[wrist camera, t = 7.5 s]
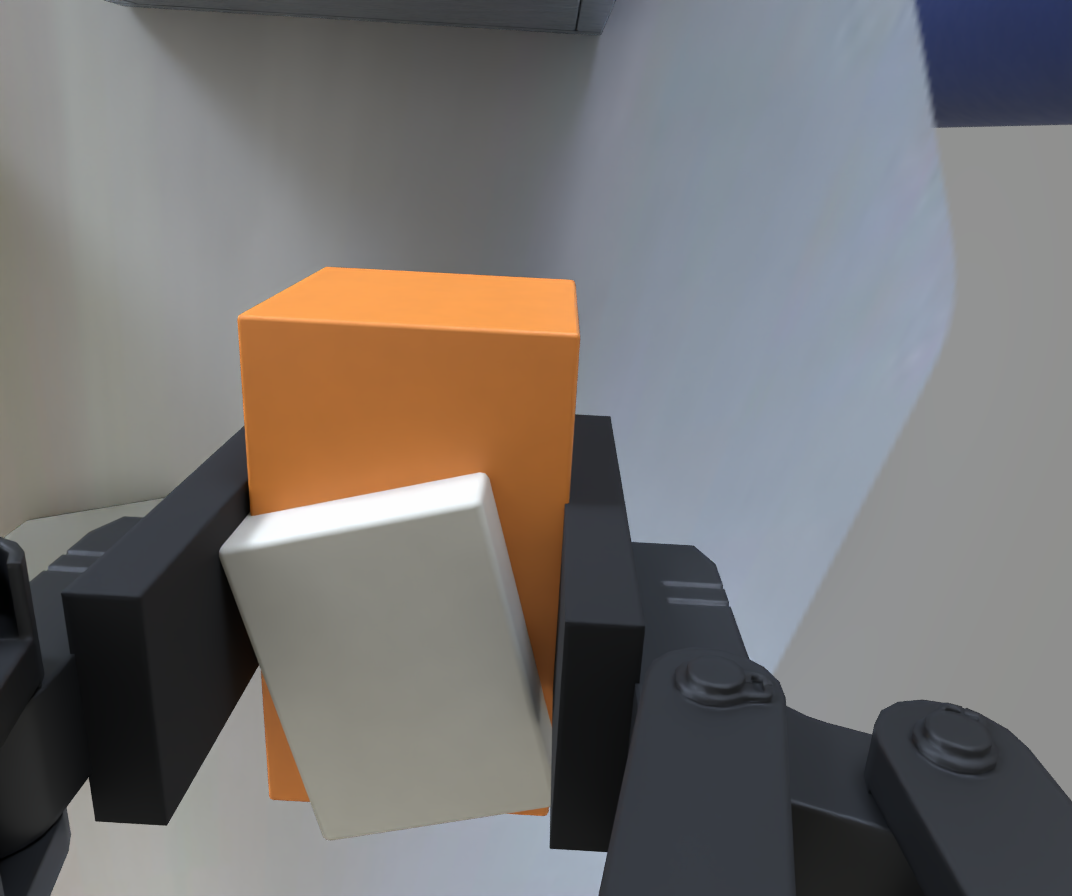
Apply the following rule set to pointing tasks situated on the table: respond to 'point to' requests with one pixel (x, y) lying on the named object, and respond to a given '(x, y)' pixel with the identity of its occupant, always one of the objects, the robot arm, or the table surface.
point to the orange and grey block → (406, 540)
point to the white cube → (67, 532)
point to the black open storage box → (421, 11)
